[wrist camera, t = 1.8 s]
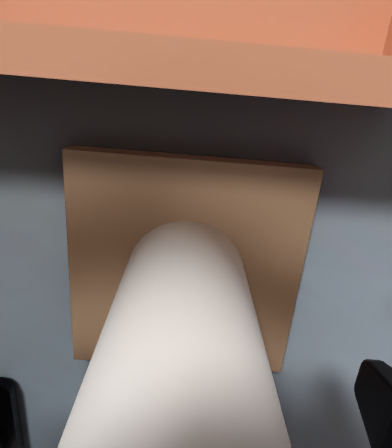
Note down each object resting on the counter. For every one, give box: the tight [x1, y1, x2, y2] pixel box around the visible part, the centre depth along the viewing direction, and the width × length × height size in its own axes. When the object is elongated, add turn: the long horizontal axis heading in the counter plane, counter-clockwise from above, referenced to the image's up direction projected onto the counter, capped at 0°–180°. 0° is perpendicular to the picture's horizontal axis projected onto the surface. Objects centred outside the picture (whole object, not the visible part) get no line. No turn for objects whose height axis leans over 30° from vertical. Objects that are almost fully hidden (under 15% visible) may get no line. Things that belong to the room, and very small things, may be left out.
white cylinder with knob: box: [58, 221, 292, 448], centre depth 8 cm, size 4×4×9 cm
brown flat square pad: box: [62, 145, 324, 372], centre depth 13 cm, size 8×8×1 cm
